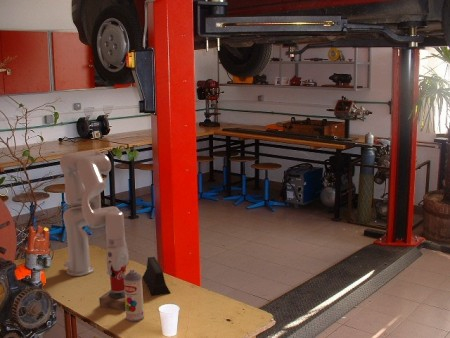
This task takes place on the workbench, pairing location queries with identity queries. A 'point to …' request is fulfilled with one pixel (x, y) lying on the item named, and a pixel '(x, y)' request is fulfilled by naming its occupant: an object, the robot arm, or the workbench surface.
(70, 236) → the robot arm
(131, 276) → the aerosol can
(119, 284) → the beverage can
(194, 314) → the workbench surface
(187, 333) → the workbench surface
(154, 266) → the barrier
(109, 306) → the walnut plinth
